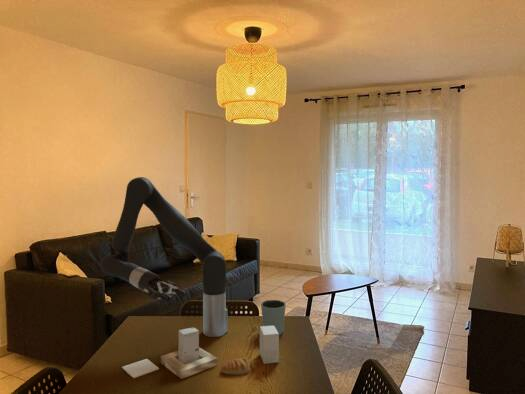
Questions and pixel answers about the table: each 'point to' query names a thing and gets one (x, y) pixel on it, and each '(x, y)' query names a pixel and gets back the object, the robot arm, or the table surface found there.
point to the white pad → (140, 368)
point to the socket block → (191, 368)
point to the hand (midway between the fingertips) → (177, 297)
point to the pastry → (236, 367)
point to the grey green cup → (273, 314)
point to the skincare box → (188, 345)
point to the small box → (269, 344)
